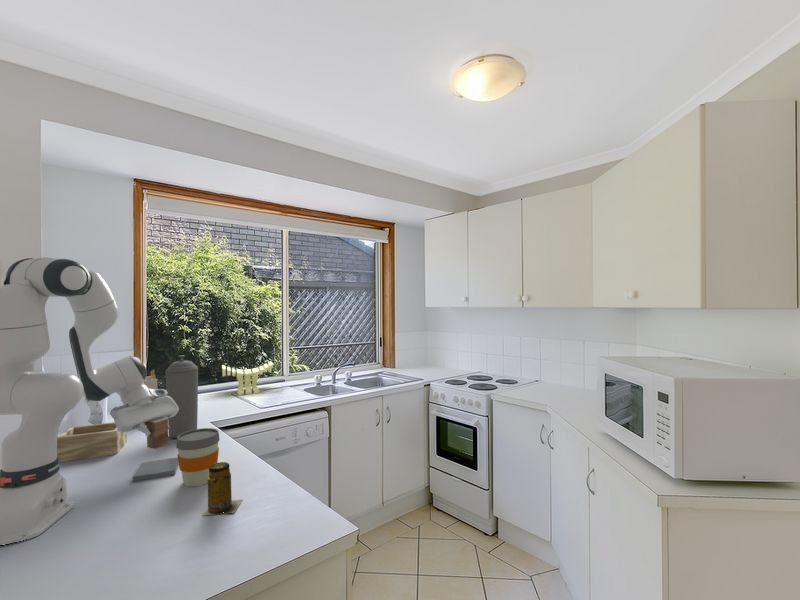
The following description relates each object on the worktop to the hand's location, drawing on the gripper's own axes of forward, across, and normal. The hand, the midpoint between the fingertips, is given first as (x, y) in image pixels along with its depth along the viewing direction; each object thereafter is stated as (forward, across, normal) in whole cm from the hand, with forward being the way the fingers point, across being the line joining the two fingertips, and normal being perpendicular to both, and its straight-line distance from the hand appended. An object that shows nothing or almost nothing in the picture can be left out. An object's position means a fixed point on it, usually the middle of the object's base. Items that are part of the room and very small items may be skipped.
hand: (158, 431), depth 134 cm
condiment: (+38, -10, -19) cm, 44 cm away
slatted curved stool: (-31, +102, +53) cm, 119 cm away
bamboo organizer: (-20, +2, +39) cm, 44 cm away
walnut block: (+3, 0, +4) cm, 5 cm away
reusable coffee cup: (+23, 0, -4) cm, 24 cm away
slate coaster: (+9, 0, +10) cm, 13 cm away
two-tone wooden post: (-31, +37, +52) cm, 71 cm away
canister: (-8, +28, +28) cm, 41 cm away
